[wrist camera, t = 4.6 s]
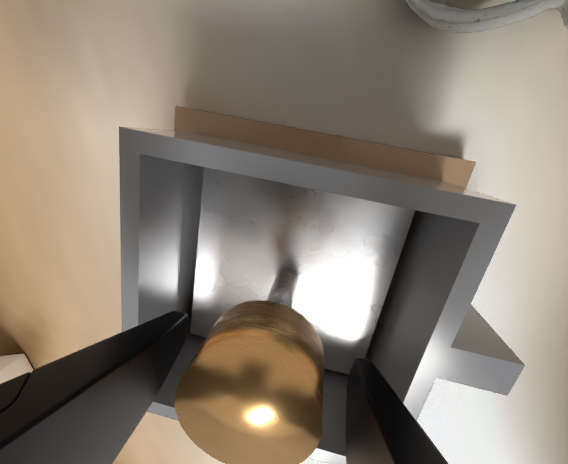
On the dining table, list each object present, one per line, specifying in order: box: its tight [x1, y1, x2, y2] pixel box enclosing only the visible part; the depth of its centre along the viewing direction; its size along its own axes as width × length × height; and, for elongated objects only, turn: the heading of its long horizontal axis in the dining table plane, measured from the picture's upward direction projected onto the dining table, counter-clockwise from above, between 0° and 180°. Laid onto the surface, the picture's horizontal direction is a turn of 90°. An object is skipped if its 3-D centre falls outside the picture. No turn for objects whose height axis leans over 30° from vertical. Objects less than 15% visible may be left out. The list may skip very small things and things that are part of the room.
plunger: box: [174, 167, 415, 464], centre depth 9 cm, size 8×8×7 cm
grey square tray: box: [119, 106, 525, 464], centre depth 11 cm, size 14×12×6 cm
